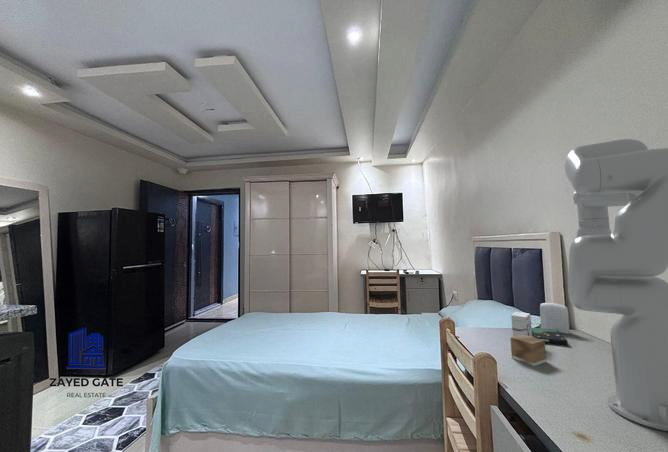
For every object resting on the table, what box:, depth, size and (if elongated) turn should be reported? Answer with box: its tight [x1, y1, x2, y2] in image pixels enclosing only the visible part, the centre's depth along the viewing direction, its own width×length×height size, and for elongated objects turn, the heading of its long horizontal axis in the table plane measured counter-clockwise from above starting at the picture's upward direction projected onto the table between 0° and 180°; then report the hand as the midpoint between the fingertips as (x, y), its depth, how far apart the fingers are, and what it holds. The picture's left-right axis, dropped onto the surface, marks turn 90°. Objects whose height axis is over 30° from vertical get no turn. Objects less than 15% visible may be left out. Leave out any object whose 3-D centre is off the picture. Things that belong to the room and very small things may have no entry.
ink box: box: [510, 311, 532, 337], centre depth 107 cm, size 9×5×12 cm, turn 134°
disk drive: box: [531, 327, 569, 347], centre depth 112 cm, size 10×3×15 cm
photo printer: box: [539, 302, 570, 335], centre depth 123 cm, size 10×4×12 cm, turn 36°
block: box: [510, 335, 547, 367], centre depth 92 cm, size 7×7×7 cm
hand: (598, 275), depth 91 cm, fingers open, 9 cm apart
